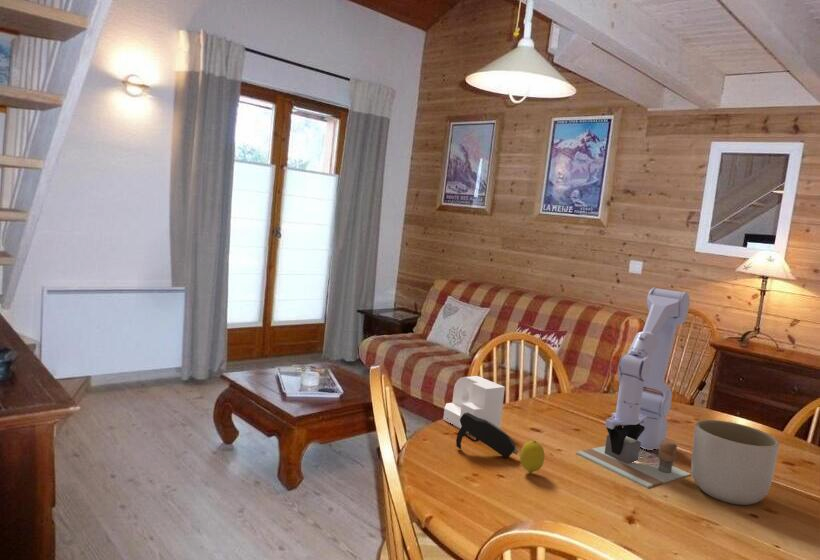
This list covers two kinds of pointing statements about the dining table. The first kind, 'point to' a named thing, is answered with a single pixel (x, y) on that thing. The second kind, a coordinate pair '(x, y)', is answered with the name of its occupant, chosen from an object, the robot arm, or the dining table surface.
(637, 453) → the block
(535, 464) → the lemon
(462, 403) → the tape dispenser
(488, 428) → the gun
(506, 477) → the dining table surface
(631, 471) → the panel
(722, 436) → the planter
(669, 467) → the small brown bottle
